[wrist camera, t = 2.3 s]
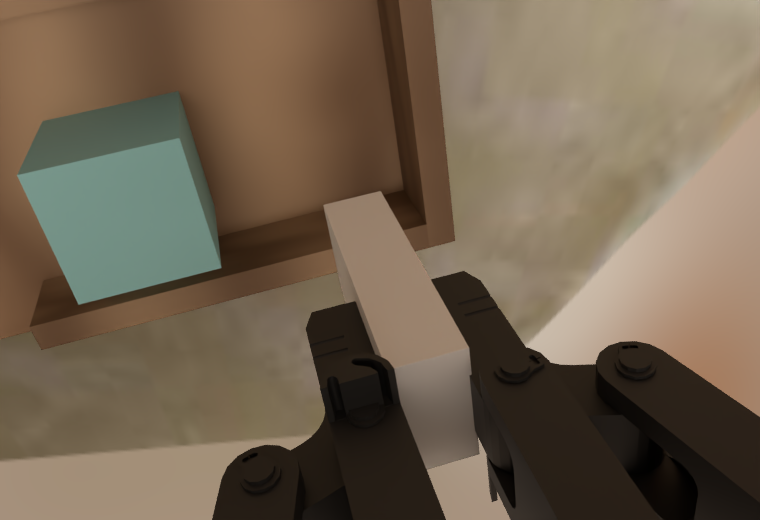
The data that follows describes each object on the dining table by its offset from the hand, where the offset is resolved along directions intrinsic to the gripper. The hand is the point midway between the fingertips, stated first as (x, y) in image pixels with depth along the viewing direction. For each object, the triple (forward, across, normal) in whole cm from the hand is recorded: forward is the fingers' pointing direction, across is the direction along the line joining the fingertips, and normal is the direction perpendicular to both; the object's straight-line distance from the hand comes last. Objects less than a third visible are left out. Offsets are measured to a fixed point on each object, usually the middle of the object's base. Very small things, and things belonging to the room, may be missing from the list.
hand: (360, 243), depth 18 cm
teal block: (+9, -6, 0) cm, 11 cm away
